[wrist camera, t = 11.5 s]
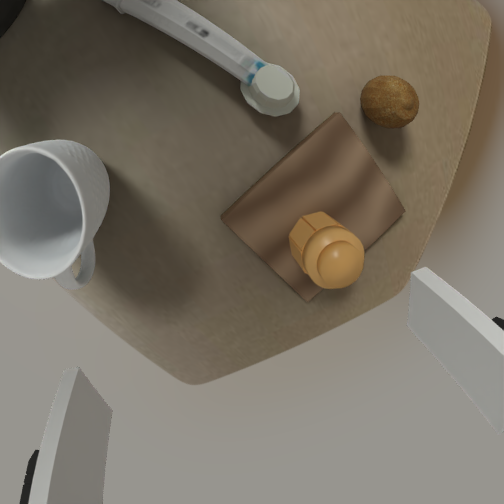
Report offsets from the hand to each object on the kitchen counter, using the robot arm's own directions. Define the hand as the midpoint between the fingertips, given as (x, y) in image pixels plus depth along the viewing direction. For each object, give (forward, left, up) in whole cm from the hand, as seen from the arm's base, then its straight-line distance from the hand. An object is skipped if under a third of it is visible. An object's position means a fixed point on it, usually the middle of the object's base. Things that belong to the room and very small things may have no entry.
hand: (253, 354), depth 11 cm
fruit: (+5, +22, -27) cm, 35 cm away
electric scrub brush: (-14, +11, -27) cm, 32 cm away
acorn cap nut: (+12, +5, -25) cm, 28 cm away
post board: (+11, +8, -26) cm, 29 cm away
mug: (-11, -10, -27) cm, 31 cm away
